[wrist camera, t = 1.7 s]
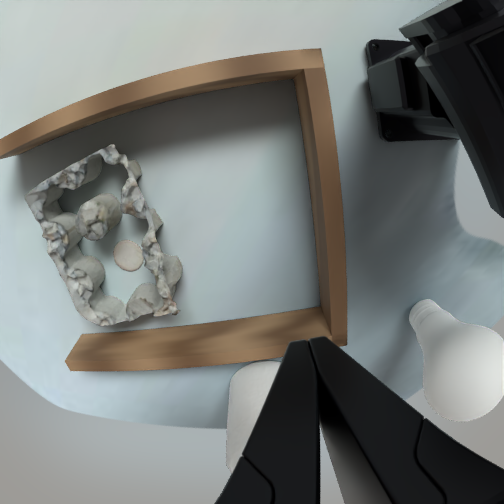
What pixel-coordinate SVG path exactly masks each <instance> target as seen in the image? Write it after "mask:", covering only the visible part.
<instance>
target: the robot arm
mask: <svg viewBox="0 0 504 504" xmlns="http://www.w3.org/2000/svg"><path fill="white" fill-rule="evenodd" d="M399 30H400V32H401V33H402V34H403V35H404V37H405V38H408V39H409V40H410V42H408V41H395V40H378V39H373V40H370V41H369V42H367V44H366V50H367V55H368V60H369V66H370V67H369V68H368V70H367V73H368V79H369V85H370V92H371V98H372V105H373V109H374V110H375V111H376V112H377V118H378V126H379V134H380V137H381V139H382V140H384V141H388V142H394V141H414V140H448V139H460V140H461V141H462V143H463V145H464V147H465V150H466V151H467V154H468V156H469V158H470V160H471V162H472V164H473V166H474V169H475V171H476V173H477V175H478V178H479V180H480V182H481V185H482V187H483V190H484V192H485V195H486V197H487V199H488V202H489V204H490V207H491V208H492V209H493V210H494V211H495V212H497V213H498V214H499V215H500V216H501V217H502V218H504V0H447V1H445V2H443V3H441V4H439V5H438V6H436V7H434V8H432V9H431V10H429V11H427V12H426V13H424V14H422V15H421V16H419V17H417V18H416V19H414V20H412V21H411V22H409V23H407V24H406V25H404V26H403V27H401V28H399ZM372 44H374V45H375V46H376V47H377V51H376V50H374V49H373V48H372ZM387 130H389V131H390V136H389V137H387V136H386V134H385V133H386V131H387ZM423 419H424V416H423V415H421V414H420V413H419V412H418V411H417V410H415V409H414V408H413V407H412V406H410V405H409V404H408V403H407V402H406V401H404V400H403V399H402V398H401V397H399V396H398V395H397V394H396V393H394V392H393V391H392V390H391V389H389V388H388V387H387V386H386V385H385V384H383V383H382V382H381V381H380V380H378V379H377V378H376V377H375V376H374V375H372V374H371V373H370V372H369V371H367V370H366V369H365V368H364V367H363V366H361V365H360V364H359V363H358V362H356V361H355V360H354V359H353V358H352V357H350V356H349V355H348V354H347V353H346V352H344V351H343V350H342V349H341V348H339V347H338V346H337V345H336V344H335V343H333V342H332V341H331V340H330V339H329V338H327V337H326V336H319V337H314V338H310V339H308V342H307V340H305V339H302V340H296V341H291V342H289V344H288V346H287V348H286V351H285V353H284V356H283V359H282V361H281V364H280V366H279V368H278V371H277V373H276V376H275V378H274V381H273V383H272V386H271V388H270V390H269V393H268V395H267V397H266V400H265V402H264V405H263V407H262V409H261V412H260V414H259V416H258V418H257V421H256V423H255V425H254V427H253V430H252V432H251V434H250V436H249V439H248V441H247V443H246V445H245V447H244V450H243V452H242V456H241V457H240V458H239V460H238V462H237V464H236V466H235V468H234V470H233V472H232V474H231V476H230V478H229V480H228V482H227V484H226V486H225V487H224V489H223V491H222V493H221V494H220V496H219V497H218V499H217V501H216V502H215V504H320V427H321V430H322V434H323V437H324V440H325V443H326V446H327V449H328V452H329V455H330V459H331V462H332V465H333V467H334V471H335V474H336V477H337V481H338V484H339V487H340V490H341V493H342V496H343V499H344V503H345V504H504V469H503V468H501V467H499V466H497V465H496V464H494V463H492V462H490V461H488V460H487V459H485V458H483V457H481V456H479V455H478V454H476V453H475V452H473V451H471V450H470V449H468V448H467V447H465V446H463V445H462V444H460V443H459V442H457V441H456V440H454V439H453V438H452V437H450V436H449V435H448V434H446V433H445V432H443V431H442V430H441V429H439V428H438V427H437V426H436V425H434V424H433V423H432V422H431V421H429V420H428V419H427V418H425V419H424V420H423Z"/></svg>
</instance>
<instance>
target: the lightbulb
mask: <svg viewBox="0 0 504 504" xmlns="http://www.w3.org/2000/svg"><path fill="white" fill-rule="evenodd" d="M409 322H410V323H411V325H412V327H413V329H414V331H415V332H416V337H417V341H418V343H419V345H420V347H421V349H422V352H423V357H424V364H423V389H424V393H425V397H426V399H427V401H428V403H429V405H430V406H431V407H432V409H433V410H434V411H435V412H436V413H438V414H439V415H440V416H441V417H443V418H446V419H448V420H451V421H459V422H465V421H471V420H474V419H477V418H479V417H481V416H483V415H485V414H487V413H488V412H490V411H491V410H492V409H493V408H494V407H495V406H496V405H497V404H498V403H499V402H500V400H501V399H502V397H503V396H504V340H503V338H502V337H501V336H500V335H499V334H498V333H496V332H495V331H493V330H491V329H489V328H488V327H484V326H480V325H476V324H468V323H464V322H461V321H459V320H458V319H456V318H454V317H453V316H452V315H451V314H450V313H449V312H447V311H445V310H442V309H441V308H440V307H439V306H438V305H437V304H436V303H435V302H434V301H433V300H430V299H424V300H421V301H419V302H418V303H416V304H415V305H414V306H413V308H412V309H411V311H410V314H409Z"/></svg>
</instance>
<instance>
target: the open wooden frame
mask: <svg viewBox="0 0 504 504" xmlns="http://www.w3.org/2000/svg"><path fill="white" fill-rule="evenodd" d="M288 79H294V84H295V90H296V96H297V102H298V108H299V115H300V121H301V127H302V134H303V141H304V148H305V155H306V163H307V170H308V178H309V186H310V195H311V203H312V212H313V222H314V231H315V242H316V252H317V264H318V276H319V289H320V304H321V306H319V307H313V308H307V309H301V310H295V311H289V312H283V313H276V314H270V315H263V316H256V317H249V318H242V319H235V320H227V321H220V322H212V323H203V324H195V325H186V326H177V327H167V328H157V329H147V330H135V331H123V332H110V333H95V334H82V335H81V336H80V338H79V340H78V341H77V343H76V344H75V346H74V347H73V349H72V350H71V352H70V354H69V355H68V357H67V358H66V360H65V362H66V364H67V366H68V367H69V369H70V371H138V370H160V369H177V368H190V367H202V366H213V365H223V364H232V363H241V362H249V361H256V360H264V359H271V358H278V357H283V356H284V353H285V351H286V348H287V346H288V344H289V342H291V341H296V340H302V339H305V340H307V342H308V339H310V338H314V337H319V336H326V337H327V338H329V339H330V340H331V341H332V342H333V343H335V344H336V345H337V346H338V347H341V346H346V345H347V276H346V251H345V233H344V218H343V205H342V194H341V183H340V173H339V163H338V155H337V146H336V138H335V131H334V123H333V116H332V109H331V103H330V96H329V90H328V84H327V79H326V73H325V67H324V62H323V57H322V52H321V48H319V49H303V50H290V51H280V52H271V53H263V54H255V55H248V56H241V57H235V58H229V59H224V60H218V61H213V62H208V63H203V64H199V65H194V66H190V67H185V68H181V69H177V70H173V71H169V72H165V73H162V74H158V75H154V76H151V77H147V78H144V79H141V80H137V81H134V82H131V83H128V84H125V85H122V86H119V87H116V88H113V89H110V90H107V91H104V92H102V93H99V94H96V95H94V96H91V97H88V98H86V99H83V100H81V101H78V102H76V103H74V104H71V105H69V106H66V107H64V108H62V109H60V110H57V111H55V112H53V113H51V114H49V115H46V116H44V117H42V118H40V119H38V120H36V121H34V122H32V123H30V124H28V125H26V126H24V127H22V128H20V129H18V130H16V131H14V132H13V133H11V134H9V135H7V136H5V137H4V138H2V139H0V159H3V158H7V157H10V156H14V155H18V154H21V153H23V152H26V151H28V150H30V149H32V148H34V147H36V146H39V145H41V144H43V143H46V142H48V141H50V140H53V139H55V138H57V137H60V136H62V135H65V134H67V133H70V132H72V131H75V130H78V129H80V128H83V127H86V126H88V125H91V124H94V123H97V122H100V121H102V120H105V119H108V118H111V117H114V116H117V115H121V114H124V113H127V112H130V111H134V110H137V109H140V108H144V107H147V106H151V105H155V104H158V103H162V102H166V101H170V100H174V99H178V98H182V97H187V96H191V95H196V94H200V93H205V92H210V91H215V90H220V89H226V88H231V87H237V86H243V85H249V84H256V83H263V82H271V81H279V80H288Z"/></svg>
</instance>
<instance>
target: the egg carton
mask: <svg viewBox="0 0 504 504" xmlns="http://www.w3.org/2000/svg"><path fill="white" fill-rule="evenodd" d="M102 156H103V158H104V160H105V162H106V163H108V164H111V165H119V164H123V165H124V166H125V168H126V169H127V171H128V175H129V178H128V179H127V180H126V184H125V185H124V186H123V188H122V190H121V204H120V202H119V200H118V199H117V198H116V197H115V196H114V195H112V194H109V193H104V194H99V195H98V196H96V197H94V198H92V199H91V200H89V201H87V202H85V203H84V204H82V205H81V206H80V208H79V211H78V213H77V215H75V214H74V213H71V212H62V210H61V208H60V205H59V203H58V199H59V198H60V197H61V196H62V194H63V191H64V188H69V189H71V190H75V189H76V188H78V187H80V186H81V185H84V184H86V183H88V182H90V181H93V180H94V179H96V178H97V177H98V176H99V174H100V172H101V169H102V158H101V157H102ZM141 175H142V173H141V169H140V166H139V164H138V163H137V161H136V160H127V157H126V155H125V154H119V153H118V151H117V150H116V149H115V145H114V144H111V145H109V146H107V147H105V148H103V149H100V150H98V151H96V152H94V153H93V154H91V155H89V156H87V157H85V158H84V159H82V160H80V161H78V162H76V163H74V164H72V165H70V166H69V167H67V168H65V169H64V170H62V171H60V172H58V173H56V174H55V175H53V176H52V177H50V178H47V179H46V180H45V181H43V182H42V183H40V184H39V185H37V186H36V187H34V188H33V189H32V190H31V191H30V192H28V193H27V194H26V195H25V200H26V202H27V204H28V205H29V207H30V209H31V211H32V213H33V215H34V217H35V219H36V220H37V221H38V222H39V223H40V225H41V227H42V230H43V235H42V236H43V238H46V239H47V243H48V248H47V253H48V254H49V255H50V257H51V258H52V259H53V261H54V263H55V264H56V266H57V269H58V271H59V273H60V276H61V277H62V279H63V280H64V282H65V283H66V285H67V288H68V290H69V293H70V295H71V298H72V300H73V303H74V305H75V308H76V309H77V311H78V312H79V314H80V315H81V316H82V317H84V318H85V319H87V320H89V321H91V322H93V323H95V324H97V325H100V326H107V325H115V324H117V323H119V322H123V321H133V320H135V319H136V318H138V317H139V316H141V315H145V314H149V313H154V315H153V316H154V317H155V316H162V315H166V314H169V313H172V315H177V314H178V313H179V312H180V310H177V308H176V303H175V301H173V300H172V297H173V295H174V292H175V290H176V283H177V281H178V280H179V279H180V278H181V275H182V264H181V262H180V260H179V258H178V256H171V255H166V254H164V253H163V252H162V251H161V249H160V246H159V244H158V243H157V240H156V237H155V232H156V231H157V230H158V228H159V227H160V226H161V225H162V224H163V222H162V220H161V218H160V217H159V215H158V214H157V213H156V211H155V209H149V208H148V205H147V203H146V201H145V199H144V197H143V195H142V193H141V191H140V189H139V187H138V184H137V182H136V179H137V178H138V177H139V176H141ZM122 212H123V213H125V214H130V215H133V216H135V217H137V218H140V219H144V218H146V219H147V221H148V224H149V229H148V232H147V233H146V235H145V237H144V239H143V241H142V245H141V246H142V247H143V249H142V250H141V249H140V247H139V246H138V244H136V243H135V242H133V241H130V240H121V241H120V242H118V243H117V244H116V246H115V247H114V251H113V255H114V260H115V263H116V264H117V265H118V266H119V267H120V268H121V269H123V270H126V271H135V270H137V269H139V268H140V266H141V265H142V264H143V260H144V259H145V265H144V266H145V267H146V268H148V269H149V270H150V271H151V273H153V274H154V275H155V279H156V285H157V286H156V285H154V284H151V283H144V284H141V285H139V286H138V287H137V288H136V290H135V291H134V293H133V294H132V296H131V298H130V299H129V301H128V303H127V304H124V303H123V302H122V301H121V300H120V299H119V298H117V297H115V296H105V295H104V293H103V292H102V290H101V288H100V286H99V285H100V284H101V283H102V282H103V280H104V278H105V269H104V266H103V265H102V263H101V262H100V261H99V260H98V259H97V258H95V257H93V256H84V255H83V254H82V253H81V250H80V248H79V246H78V244H77V243H78V242H79V241H80V240H81V238H82V236H84V237H85V238H87V239H89V240H92V241H95V240H99V239H101V238H103V237H104V236H105V235H106V234H107V233H108V232H109V231H110V230H111V229H112V228H113V227H114V226H116V225H117V224H118V223H119V222H120V220H121V217H122Z"/></svg>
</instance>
